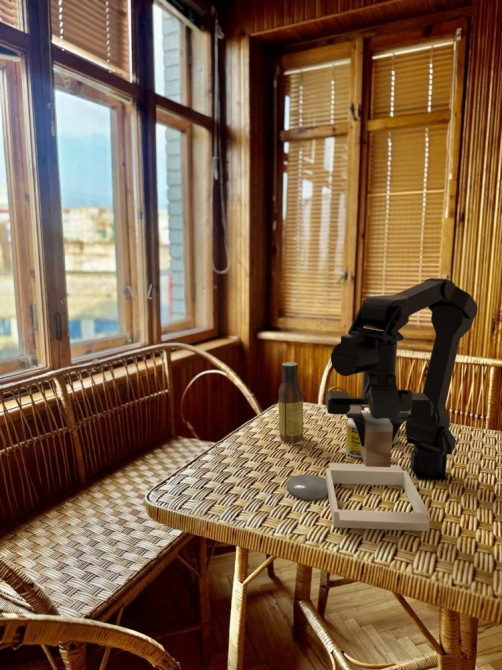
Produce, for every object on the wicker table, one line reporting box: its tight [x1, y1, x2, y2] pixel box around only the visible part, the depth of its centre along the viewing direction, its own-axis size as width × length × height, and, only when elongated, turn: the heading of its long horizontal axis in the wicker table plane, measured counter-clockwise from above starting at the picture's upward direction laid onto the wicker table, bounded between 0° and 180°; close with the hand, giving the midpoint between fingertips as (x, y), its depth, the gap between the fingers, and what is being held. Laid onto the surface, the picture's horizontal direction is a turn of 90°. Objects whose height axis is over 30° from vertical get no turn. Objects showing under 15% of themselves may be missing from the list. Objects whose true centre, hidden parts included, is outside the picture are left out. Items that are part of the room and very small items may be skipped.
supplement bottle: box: [345, 410, 368, 459], centre depth 113 cm, size 6×6×10 cm
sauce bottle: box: [278, 361, 304, 443], centre depth 121 cm, size 7×6×20 cm
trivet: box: [286, 474, 328, 501], centre depth 98 cm, size 9×9×1 cm
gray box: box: [360, 412, 393, 467], centre depth 89 cm, size 4×6×8 cm
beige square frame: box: [325, 462, 431, 532], centre depth 92 cm, size 17×21×3 cm
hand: (375, 446), depth 90 cm, fingers closed on gray box, 4 cm apart
